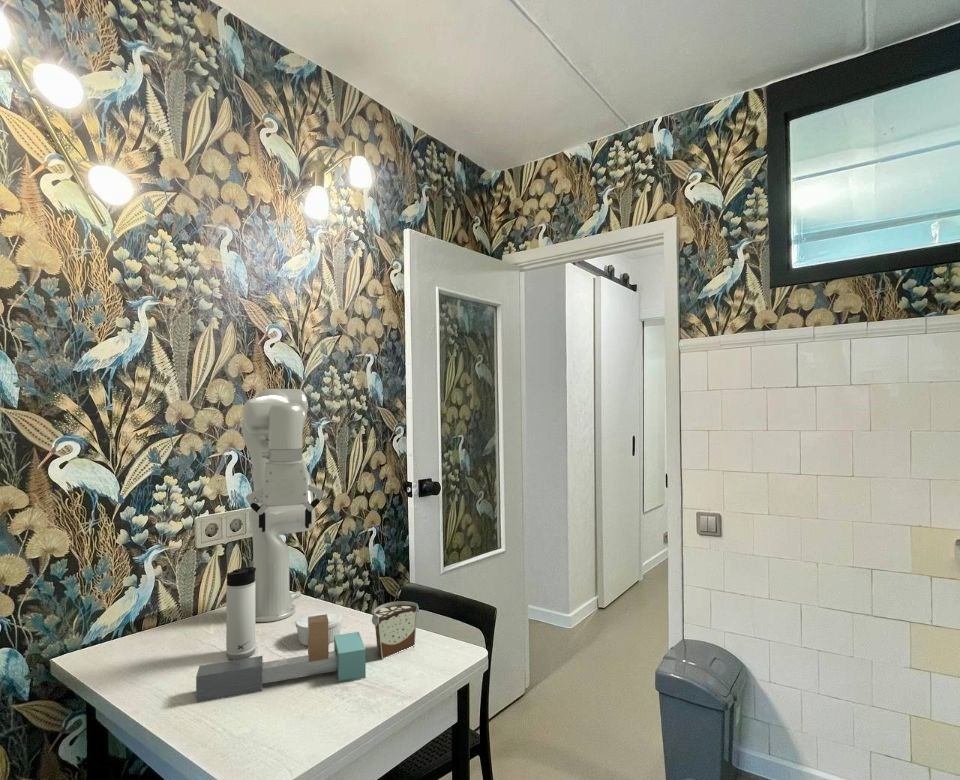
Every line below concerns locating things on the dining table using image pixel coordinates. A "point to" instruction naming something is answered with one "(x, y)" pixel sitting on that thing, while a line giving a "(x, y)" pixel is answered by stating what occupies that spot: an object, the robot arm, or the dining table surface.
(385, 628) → the food container
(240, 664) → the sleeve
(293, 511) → the robot arm
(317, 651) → the multicoloured piece
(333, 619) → the ramekin
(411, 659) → the dining table surface
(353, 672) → the socket block
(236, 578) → the travel mug
